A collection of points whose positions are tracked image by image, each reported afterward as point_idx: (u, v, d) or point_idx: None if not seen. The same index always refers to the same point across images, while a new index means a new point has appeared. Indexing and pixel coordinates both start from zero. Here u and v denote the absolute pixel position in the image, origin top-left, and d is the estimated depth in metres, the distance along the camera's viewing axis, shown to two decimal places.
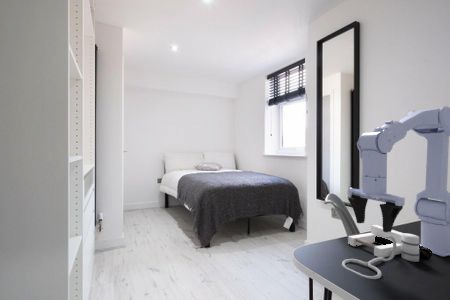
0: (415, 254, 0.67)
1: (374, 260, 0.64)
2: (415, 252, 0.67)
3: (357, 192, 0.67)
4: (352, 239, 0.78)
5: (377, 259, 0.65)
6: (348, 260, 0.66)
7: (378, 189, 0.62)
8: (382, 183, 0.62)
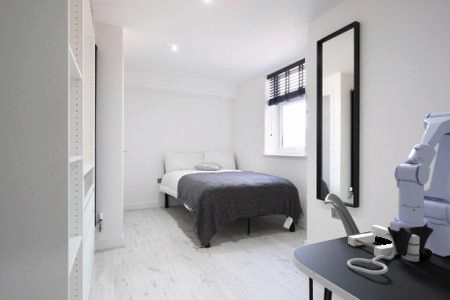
0: (415, 254, 0.67)
1: (377, 257, 0.64)
2: (416, 252, 0.67)
3: None
4: (352, 239, 0.78)
5: (380, 256, 0.65)
6: (352, 260, 0.65)
7: (399, 215, 0.69)
8: (402, 210, 0.69)
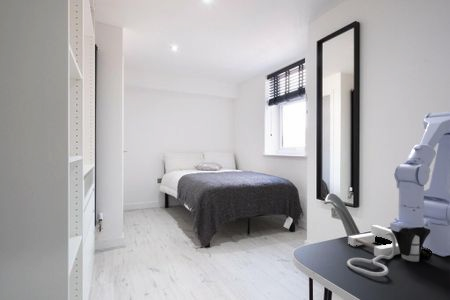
0: (415, 254, 0.67)
1: (378, 257, 0.64)
2: (415, 252, 0.67)
3: None
4: (352, 239, 0.78)
5: (380, 256, 0.65)
6: (353, 259, 0.65)
7: (399, 216, 0.70)
8: (402, 211, 0.69)
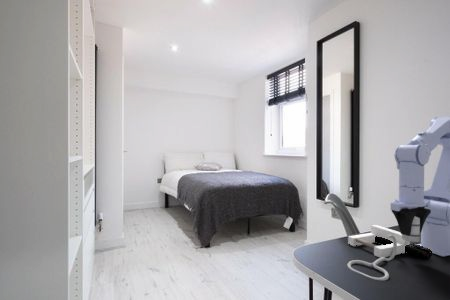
0: (415, 235, 0.67)
1: (378, 260, 0.64)
2: (416, 232, 0.67)
3: None
4: (352, 239, 0.78)
5: (381, 259, 0.65)
6: (353, 261, 0.65)
7: (400, 196, 0.70)
8: (402, 191, 0.69)
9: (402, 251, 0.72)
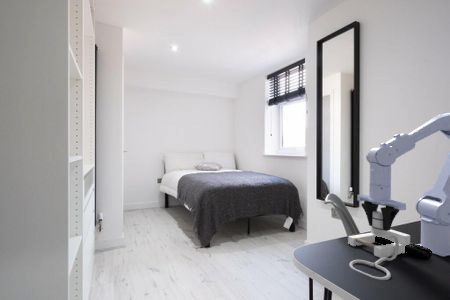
0: None
1: (380, 260, 0.64)
2: None
3: (365, 198, 0.79)
4: (352, 239, 0.78)
5: (383, 259, 0.65)
6: (355, 261, 0.65)
7: (384, 196, 0.74)
8: (387, 191, 0.74)
9: (402, 251, 0.72)
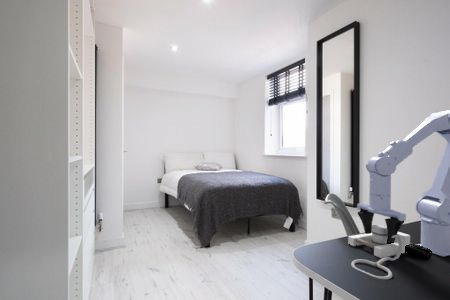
0: None
1: (382, 260, 0.65)
2: None
3: (365, 207, 0.79)
4: (352, 239, 0.78)
5: (385, 259, 0.65)
6: (357, 261, 0.66)
7: (383, 206, 0.74)
8: (387, 201, 0.74)
9: (402, 251, 0.72)
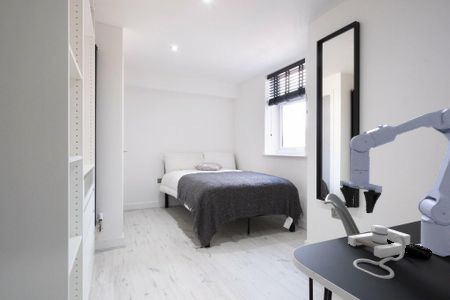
0: None
1: (385, 260, 0.65)
2: None
3: (347, 182, 0.85)
4: (352, 239, 0.78)
5: (388, 259, 0.65)
6: (359, 260, 0.66)
7: (362, 180, 0.79)
8: (365, 175, 0.79)
9: None
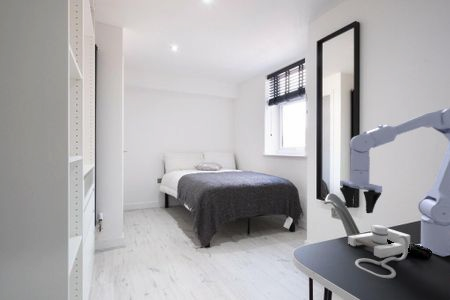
0: None
1: (387, 259, 0.65)
2: None
3: (347, 182, 0.85)
4: (352, 239, 0.78)
5: (390, 259, 0.66)
6: (361, 260, 0.66)
7: (362, 180, 0.79)
8: (365, 175, 0.79)
9: (402, 251, 0.72)
